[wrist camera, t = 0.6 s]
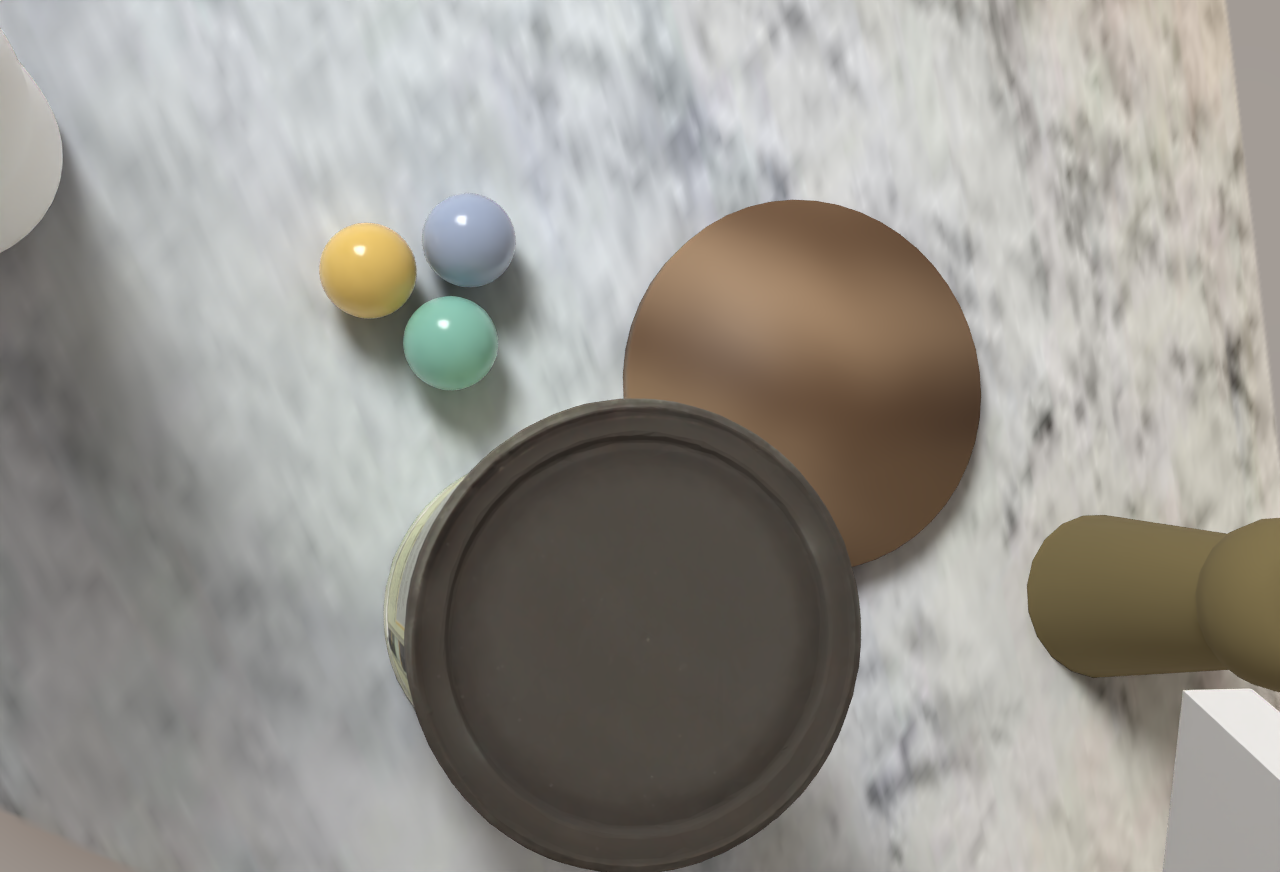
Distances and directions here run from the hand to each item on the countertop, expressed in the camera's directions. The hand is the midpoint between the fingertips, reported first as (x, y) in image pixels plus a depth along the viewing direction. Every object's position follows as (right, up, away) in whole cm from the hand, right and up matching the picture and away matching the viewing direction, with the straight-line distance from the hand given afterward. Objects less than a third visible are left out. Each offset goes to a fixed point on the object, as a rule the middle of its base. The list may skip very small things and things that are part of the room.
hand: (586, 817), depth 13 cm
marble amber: (-8, +9, +27) cm, 29 cm away
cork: (+18, -2, +32) cm, 37 cm away
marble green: (-6, +7, +27) cm, 28 cm away
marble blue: (-5, +10, +27) cm, 30 cm away
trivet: (+6, +6, +30) cm, 31 cm away
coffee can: (-3, -1, +27) cm, 27 cm away
